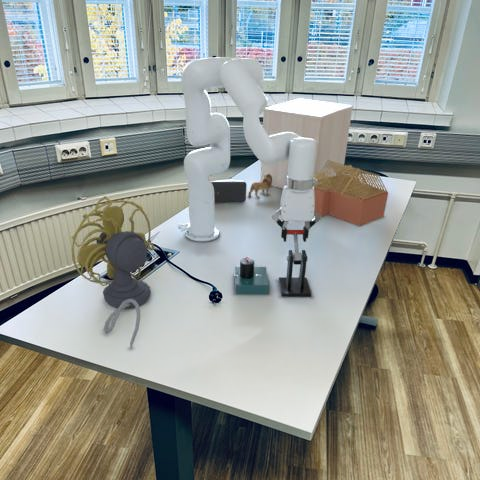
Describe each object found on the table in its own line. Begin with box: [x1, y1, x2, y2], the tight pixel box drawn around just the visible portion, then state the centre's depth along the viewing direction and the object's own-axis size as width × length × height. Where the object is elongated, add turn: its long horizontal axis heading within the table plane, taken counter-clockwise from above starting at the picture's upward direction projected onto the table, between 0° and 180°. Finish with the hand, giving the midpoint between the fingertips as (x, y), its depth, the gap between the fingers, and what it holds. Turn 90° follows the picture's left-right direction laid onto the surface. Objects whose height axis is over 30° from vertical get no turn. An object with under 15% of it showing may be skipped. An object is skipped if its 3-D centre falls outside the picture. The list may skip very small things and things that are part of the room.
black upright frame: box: [278, 249, 312, 298], centre depth 142 cm, size 10×9×12 cm
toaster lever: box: [287, 229, 304, 266], centre depth 142 cm, size 12×6×2 cm
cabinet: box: [259, 98, 354, 189], centre depth 225 cm, size 35×29×34 cm
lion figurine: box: [247, 174, 272, 199], centre depth 212 cm, size 15×5×9 cm, turn 137°
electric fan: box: [71, 195, 155, 349], centre depth 125 cm, size 26×32×30 cm
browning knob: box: [239, 256, 255, 279], centre depth 144 cm, size 4×4×5 cm
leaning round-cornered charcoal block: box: [211, 179, 247, 204], centre depth 205 cm, size 16×5×9 cm, turn 96°
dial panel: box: [233, 266, 270, 295], centre depth 146 cm, size 11×12×3 cm
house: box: [313, 159, 389, 227], centre depth 194 cm, size 28×23×19 cm
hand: (294, 239), depth 145 cm, fingers closed on toaster lever, 5 cm apart
